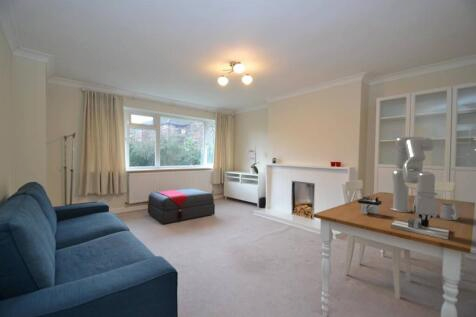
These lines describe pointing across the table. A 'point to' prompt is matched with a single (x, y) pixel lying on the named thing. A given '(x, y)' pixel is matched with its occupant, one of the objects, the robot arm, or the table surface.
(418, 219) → the bar
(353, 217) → the table surface
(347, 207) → the table surface
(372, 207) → the black-topped pedestal
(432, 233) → the door board
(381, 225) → the table surface
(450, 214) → the mug
